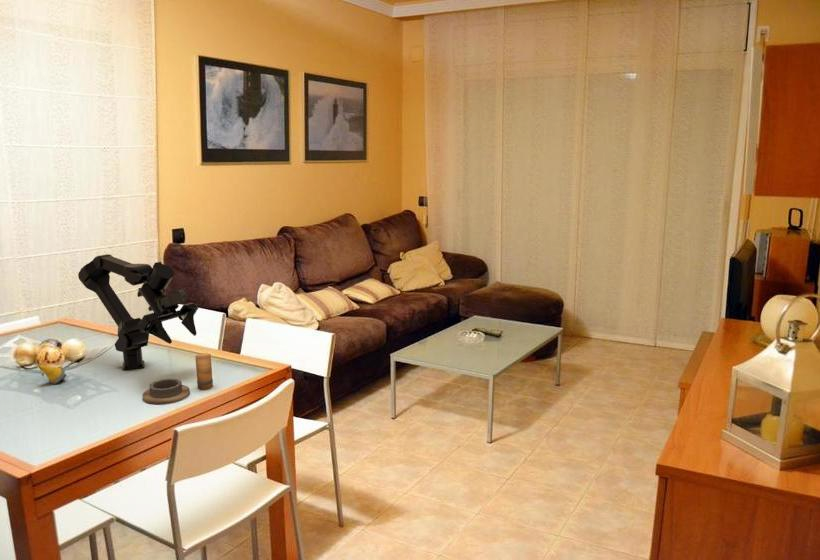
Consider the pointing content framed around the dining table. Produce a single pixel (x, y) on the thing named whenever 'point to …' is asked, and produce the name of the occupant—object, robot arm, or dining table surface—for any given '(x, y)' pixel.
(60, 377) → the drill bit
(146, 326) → the robot arm
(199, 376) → the handle
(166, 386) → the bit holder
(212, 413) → the dining table surface
